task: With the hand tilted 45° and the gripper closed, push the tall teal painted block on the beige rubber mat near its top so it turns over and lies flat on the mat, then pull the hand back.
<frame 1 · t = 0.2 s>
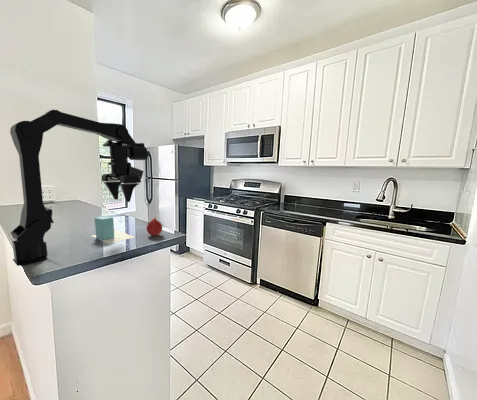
hand: (122, 200, 86), 15 cm above the worktop, tool pointing down, fingers open, 9 cm apart
block: (105, 238, 86), point 1 cm above the worktop, touching mat
mat: (113, 237, 88), on the worktop
onion: (154, 237, 90), on the worktop
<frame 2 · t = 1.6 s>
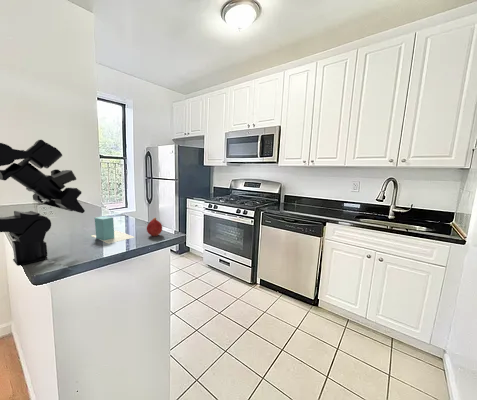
hand: (78, 211, 76), 13 cm above the worktop, tool tilted 45°, fingers open, 6 cm apart
nothing on the worktop moved.
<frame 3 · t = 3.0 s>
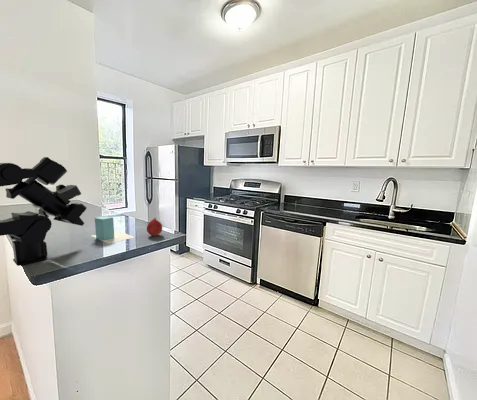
hand: (82, 224, 78), 8 cm above the worktop, tool tilted 45°, fingers closed
nothing on the worktop moved.
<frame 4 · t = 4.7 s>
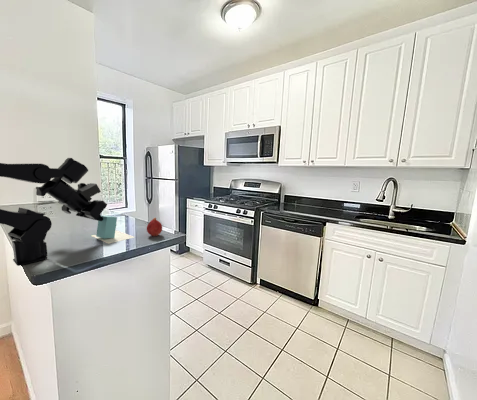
hand: (101, 220, 84), 8 cm above the worktop, tool tilted 45°, fingers closed
block: (105, 237, 86), point 1 cm above the worktop, tilted 11°, touching mat
everything else where it was.
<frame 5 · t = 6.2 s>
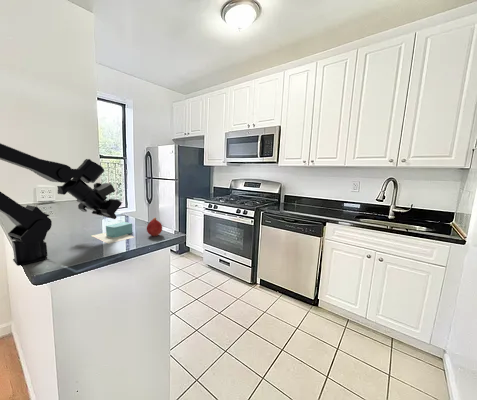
hand: (115, 218, 89), 8 cm above the worktop, tool tilted 45°, fingers closed
block: (110, 231, 87), point 3 cm above the worktop, tilted 90°, touching mat
everything else where it was.
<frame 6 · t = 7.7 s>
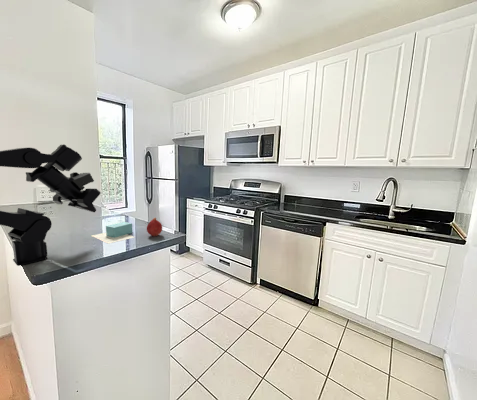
hand: (95, 211, 81), 12 cm above the worktop, tool tilted 45°, fingers closed
nothing on the worktop moved.
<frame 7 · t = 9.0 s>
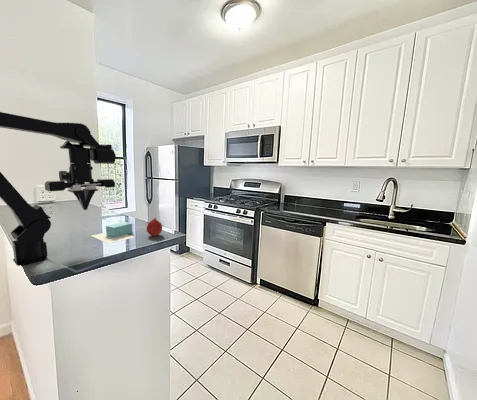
hand: (85, 209, 76), 13 cm above the worktop, tool pointing down, fingers closed
nothing on the worktop moved.
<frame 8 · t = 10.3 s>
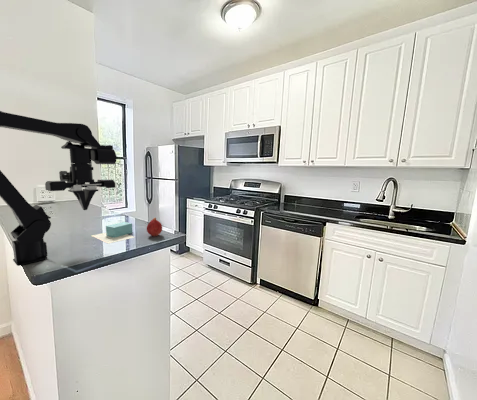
hand: (85, 210, 76), 13 cm above the worktop, tool pointing down, fingers closed
nothing on the worktop moved.
at the end: block tilted 90°; block touching mat; block inside the target area (2.3 cm from its centre), point 2.6 cm above the worktop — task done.
